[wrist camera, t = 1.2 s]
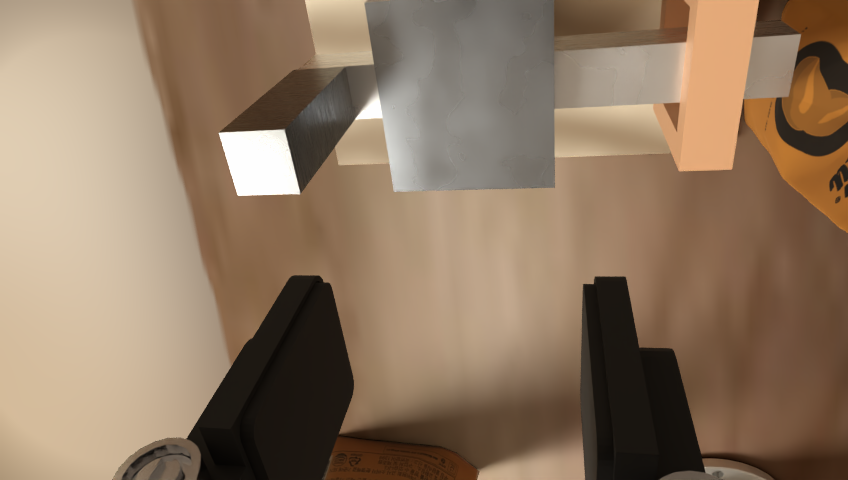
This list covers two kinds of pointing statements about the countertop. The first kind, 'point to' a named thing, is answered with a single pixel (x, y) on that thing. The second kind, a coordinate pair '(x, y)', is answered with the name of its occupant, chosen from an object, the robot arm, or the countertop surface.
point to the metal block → (466, 92)
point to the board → (574, 127)
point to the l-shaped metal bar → (573, 88)
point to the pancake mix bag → (394, 462)
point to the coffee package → (812, 109)
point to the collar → (708, 81)
